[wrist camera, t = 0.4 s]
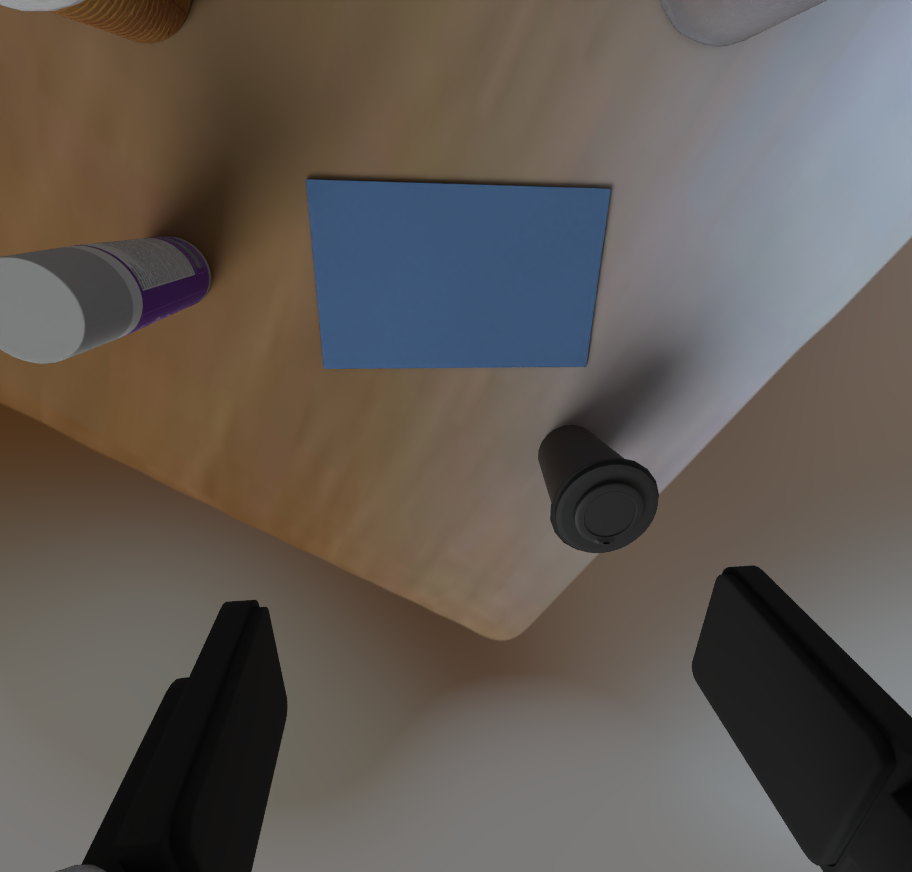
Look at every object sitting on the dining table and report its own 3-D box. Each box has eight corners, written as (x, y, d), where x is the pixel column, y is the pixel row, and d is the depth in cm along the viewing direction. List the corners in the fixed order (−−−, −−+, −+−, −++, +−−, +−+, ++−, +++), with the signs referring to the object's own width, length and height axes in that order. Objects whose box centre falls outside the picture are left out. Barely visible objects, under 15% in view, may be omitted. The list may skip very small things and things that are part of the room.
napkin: (306, 179, 32) (305, 179, 32) (609, 188, 34) (611, 188, 34) (324, 367, 38) (323, 368, 38) (585, 365, 40) (586, 366, 40)
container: (181, 319, 35) (44, 387, 22) (125, 266, 33) (-64, 304, 20) (226, 277, 34) (112, 320, 21) (170, 220, 33) (5, 227, 19)
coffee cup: (545, 505, 45) (581, 579, 36) (507, 439, 42) (535, 502, 33) (624, 464, 44) (681, 529, 35) (591, 393, 41) (645, 445, 32)
